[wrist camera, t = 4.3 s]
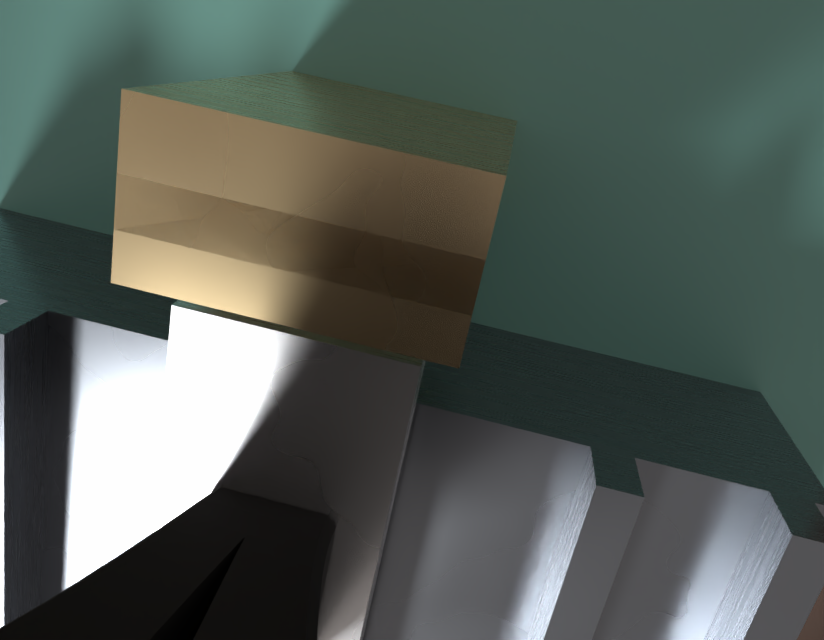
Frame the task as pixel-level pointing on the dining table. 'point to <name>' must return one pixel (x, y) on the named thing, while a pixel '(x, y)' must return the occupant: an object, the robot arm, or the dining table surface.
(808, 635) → the dining table surface
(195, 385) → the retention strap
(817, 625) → the dining table surface
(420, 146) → the heat sink
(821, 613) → the dining table surface
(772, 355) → the circuit board
